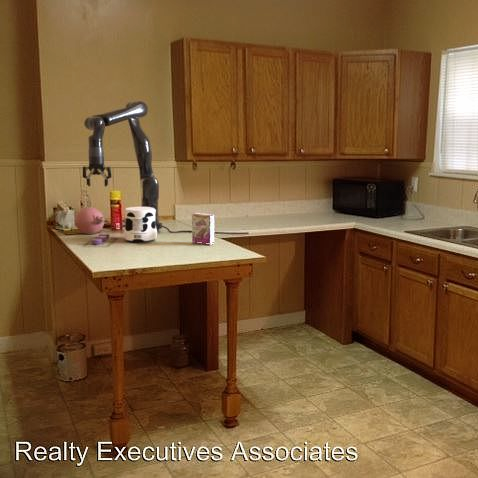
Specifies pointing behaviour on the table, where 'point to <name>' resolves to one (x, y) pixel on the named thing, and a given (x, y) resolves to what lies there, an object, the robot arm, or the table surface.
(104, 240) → the dish bottom
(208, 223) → the candy bar box
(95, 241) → the purple stepped cylinder
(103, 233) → the dish top
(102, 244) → the brown board with circles
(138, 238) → the white black spotted canister
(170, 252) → the table surface
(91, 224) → the pink piggy bank
